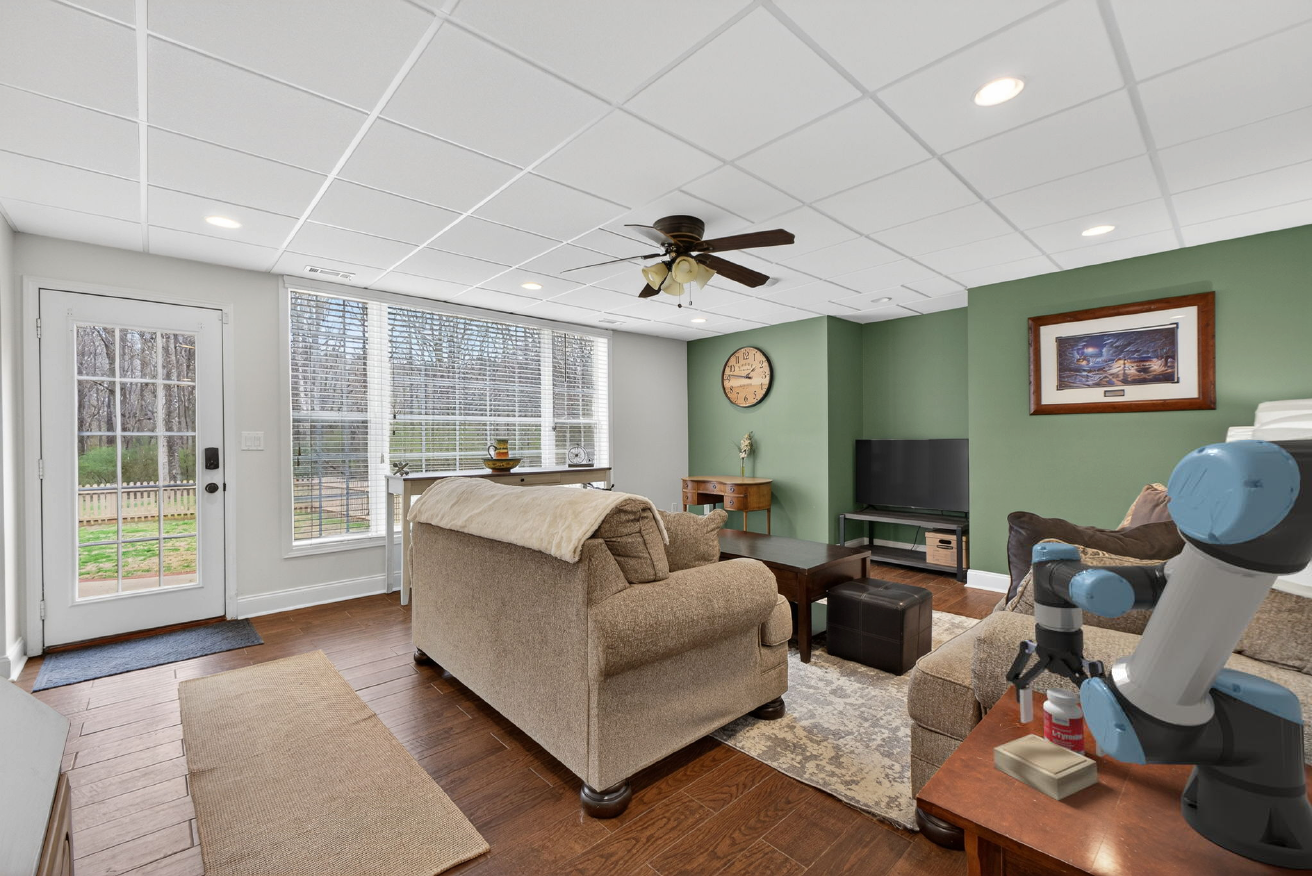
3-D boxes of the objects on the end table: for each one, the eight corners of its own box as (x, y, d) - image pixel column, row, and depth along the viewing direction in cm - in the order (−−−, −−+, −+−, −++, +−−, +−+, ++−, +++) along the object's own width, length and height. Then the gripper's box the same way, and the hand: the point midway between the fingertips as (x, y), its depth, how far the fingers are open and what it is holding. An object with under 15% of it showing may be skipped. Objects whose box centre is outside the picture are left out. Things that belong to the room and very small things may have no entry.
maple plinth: (1097, 782, 99) (1096, 760, 99) (1058, 800, 94) (1056, 777, 94) (1032, 752, 109) (1031, 732, 109) (994, 767, 104) (993, 747, 104)
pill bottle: (1050, 757, 107) (1047, 697, 107) (1040, 741, 112) (1038, 684, 113) (1090, 762, 105) (1087, 701, 105) (1078, 745, 110) (1075, 687, 111)
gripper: (1147, 641, 99) (1152, 764, 99) (1007, 606, 122) (1011, 705, 122) (1122, 649, 96) (1128, 776, 96) (984, 611, 119) (988, 713, 119)
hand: (1062, 736), depth 109 cm, fingers open, 13 cm apart
